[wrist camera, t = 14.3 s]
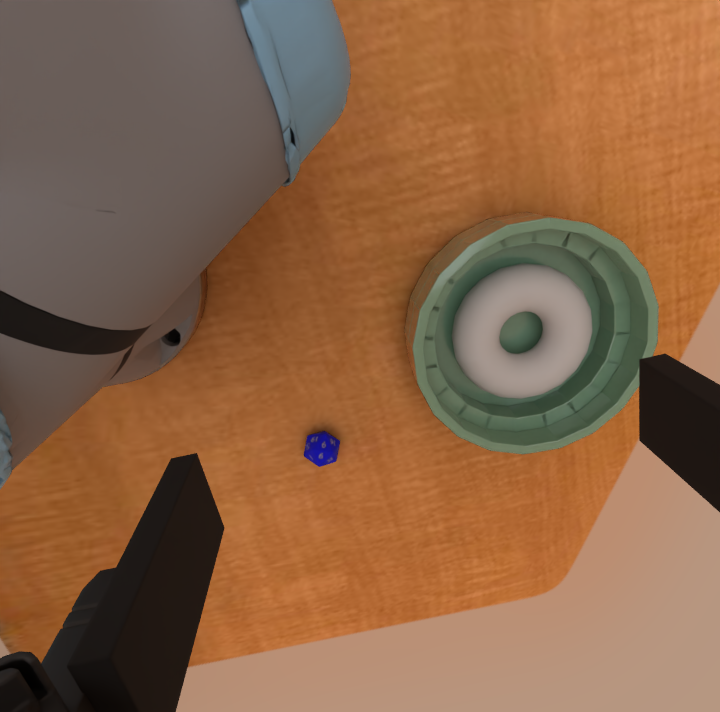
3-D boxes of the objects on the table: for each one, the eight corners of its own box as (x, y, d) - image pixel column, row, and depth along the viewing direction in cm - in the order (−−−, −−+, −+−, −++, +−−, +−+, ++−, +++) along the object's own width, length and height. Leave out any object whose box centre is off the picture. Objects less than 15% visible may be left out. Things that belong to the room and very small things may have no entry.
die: (346, 436, 42) (342, 471, 40) (318, 439, 43) (313, 474, 41) (331, 421, 40) (325, 458, 38) (301, 425, 41) (295, 461, 39)
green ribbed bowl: (419, 437, 42) (429, 470, 38) (389, 234, 37) (397, 244, 32) (619, 403, 42) (655, 432, 37) (620, 194, 36) (662, 197, 32)
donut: (603, 333, 39) (533, 229, 36) (627, 348, 36) (553, 236, 33) (495, 411, 41) (420, 318, 38) (509, 432, 38) (428, 332, 35)
